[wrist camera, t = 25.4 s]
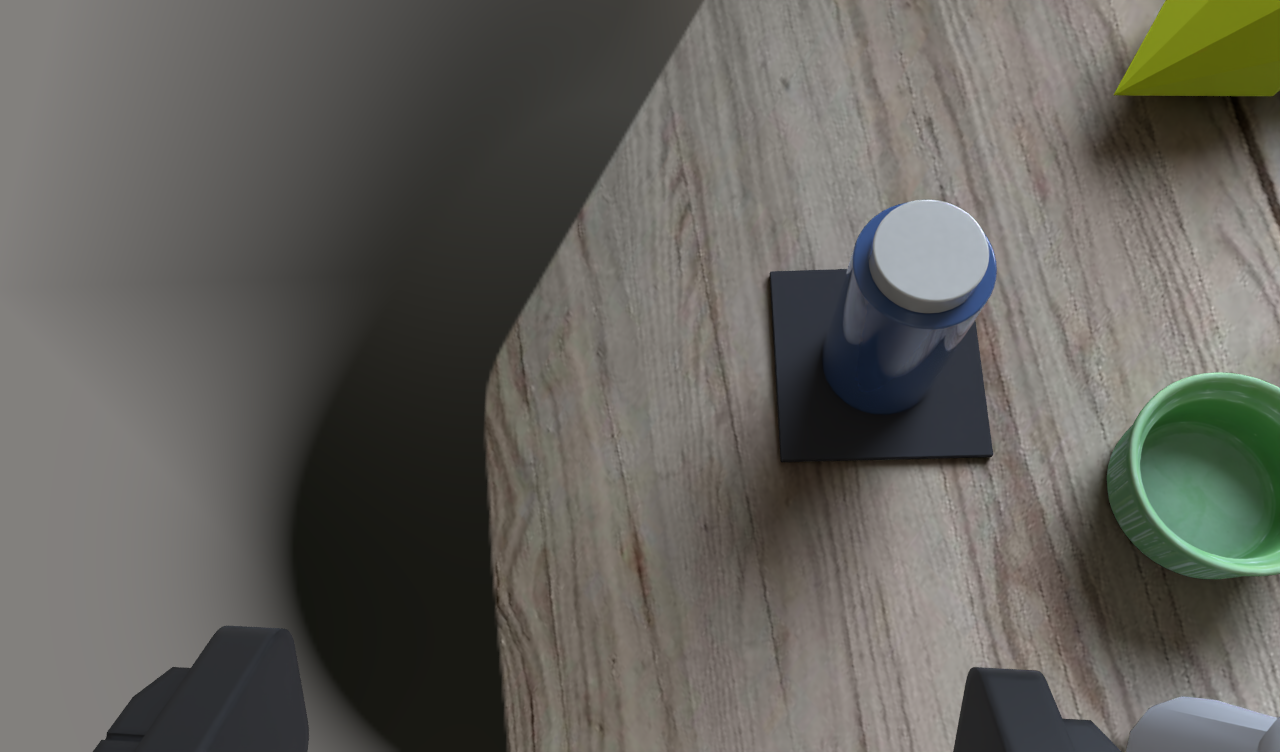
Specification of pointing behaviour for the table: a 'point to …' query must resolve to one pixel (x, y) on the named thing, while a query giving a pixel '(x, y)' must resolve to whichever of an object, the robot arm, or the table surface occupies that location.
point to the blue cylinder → (906, 304)
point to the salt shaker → (1204, 728)
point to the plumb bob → (1208, 50)
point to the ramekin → (1203, 477)
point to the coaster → (842, 432)
